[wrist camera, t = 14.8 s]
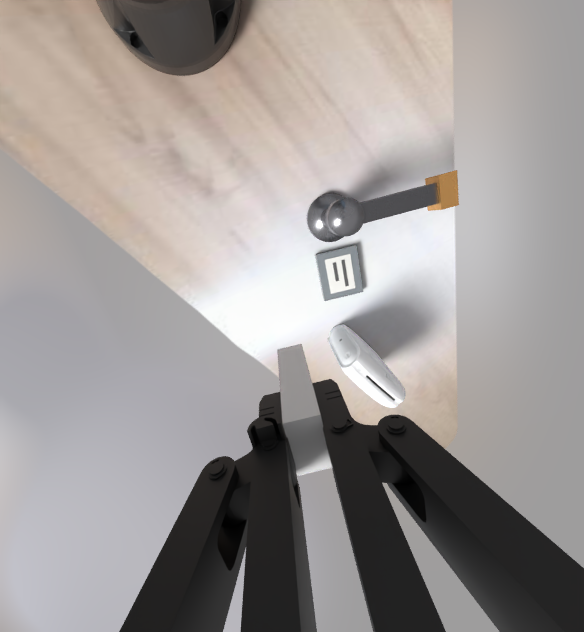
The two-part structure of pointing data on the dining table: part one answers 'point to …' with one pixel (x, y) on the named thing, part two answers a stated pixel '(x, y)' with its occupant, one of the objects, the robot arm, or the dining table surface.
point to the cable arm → (392, 204)
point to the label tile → (339, 272)
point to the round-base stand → (322, 217)
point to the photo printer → (365, 367)
